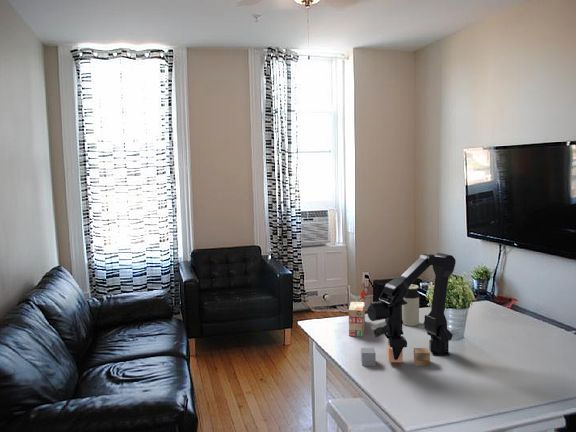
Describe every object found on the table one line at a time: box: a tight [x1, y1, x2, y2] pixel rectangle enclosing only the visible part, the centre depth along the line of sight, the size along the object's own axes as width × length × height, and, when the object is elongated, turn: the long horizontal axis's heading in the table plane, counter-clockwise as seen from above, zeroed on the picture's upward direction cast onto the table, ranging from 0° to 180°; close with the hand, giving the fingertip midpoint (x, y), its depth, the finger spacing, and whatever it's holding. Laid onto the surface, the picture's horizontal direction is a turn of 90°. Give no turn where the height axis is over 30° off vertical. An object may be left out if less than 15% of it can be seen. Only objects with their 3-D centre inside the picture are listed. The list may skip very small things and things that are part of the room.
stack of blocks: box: [348, 301, 366, 338], centre depth 219 cm, size 21×6×12 cm, turn 169°
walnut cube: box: [413, 347, 431, 367], centre depth 180 cm, size 5×5×5 cm
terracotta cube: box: [386, 343, 404, 363], centre depth 180 cm, size 5×5×5 cm
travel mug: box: [402, 283, 420, 327], centre depth 223 cm, size 8×8×18 cm
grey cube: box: [360, 347, 377, 367], centre depth 181 cm, size 5×5×5 cm
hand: (394, 356), depth 181 cm, fingers closed on terracotta cube, 5 cm apart
